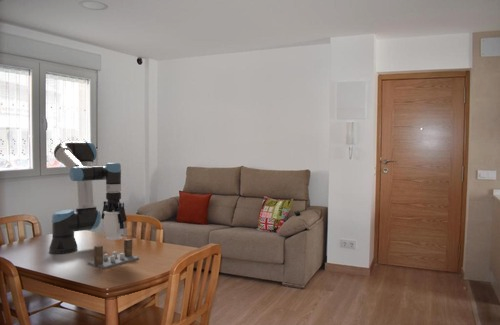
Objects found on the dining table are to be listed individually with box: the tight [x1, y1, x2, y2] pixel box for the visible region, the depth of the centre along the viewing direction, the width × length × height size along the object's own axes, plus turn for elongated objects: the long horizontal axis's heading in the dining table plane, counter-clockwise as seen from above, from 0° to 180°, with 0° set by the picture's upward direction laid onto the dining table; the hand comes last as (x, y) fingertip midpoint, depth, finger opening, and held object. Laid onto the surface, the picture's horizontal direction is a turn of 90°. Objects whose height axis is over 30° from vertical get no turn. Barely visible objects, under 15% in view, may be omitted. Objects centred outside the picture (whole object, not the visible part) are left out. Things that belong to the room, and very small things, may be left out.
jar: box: [102, 210, 123, 241], centre depth 221 cm, size 11×10×15 cm
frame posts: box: [93, 238, 133, 268], centre depth 221 cm, size 3×22×10 cm, turn 146°
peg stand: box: [87, 251, 140, 270], centre depth 221 cm, size 14×22×4 cm, turn 146°
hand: (113, 233), depth 221 cm, fingers closed on jar, 10 cm apart
